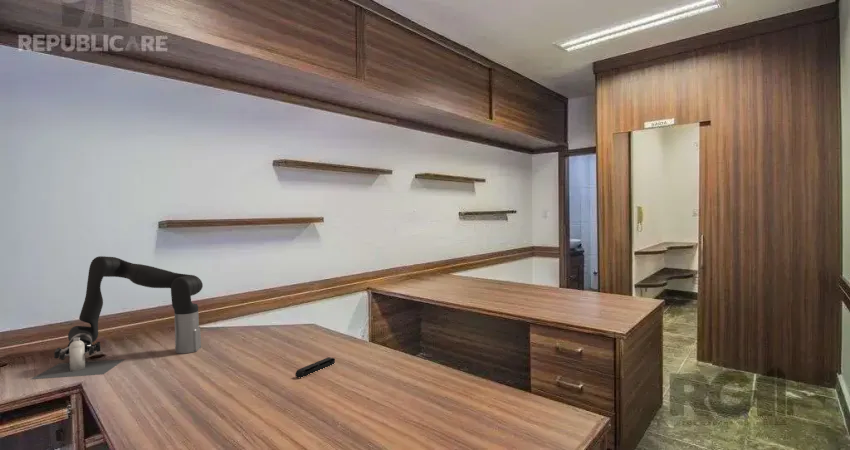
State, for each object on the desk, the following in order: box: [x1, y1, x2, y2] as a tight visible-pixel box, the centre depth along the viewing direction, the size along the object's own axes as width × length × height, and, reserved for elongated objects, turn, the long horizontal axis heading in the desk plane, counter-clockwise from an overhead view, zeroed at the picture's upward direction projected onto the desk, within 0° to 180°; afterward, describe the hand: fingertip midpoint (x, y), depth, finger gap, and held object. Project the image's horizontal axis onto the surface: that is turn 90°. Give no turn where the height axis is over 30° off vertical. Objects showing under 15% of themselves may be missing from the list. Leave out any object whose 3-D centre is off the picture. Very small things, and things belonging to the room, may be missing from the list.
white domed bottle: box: [69, 338, 86, 371], centre depth 161 cm, size 5×5×12 cm
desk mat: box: [29, 358, 126, 380], centre depth 162 cm, size 24×16×1 cm, turn 101°
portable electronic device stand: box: [295, 356, 336, 378], centre depth 161 cm, size 18×3×3 cm, turn 146°
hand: (76, 354), depth 160 cm, fingers open, 8 cm apart
